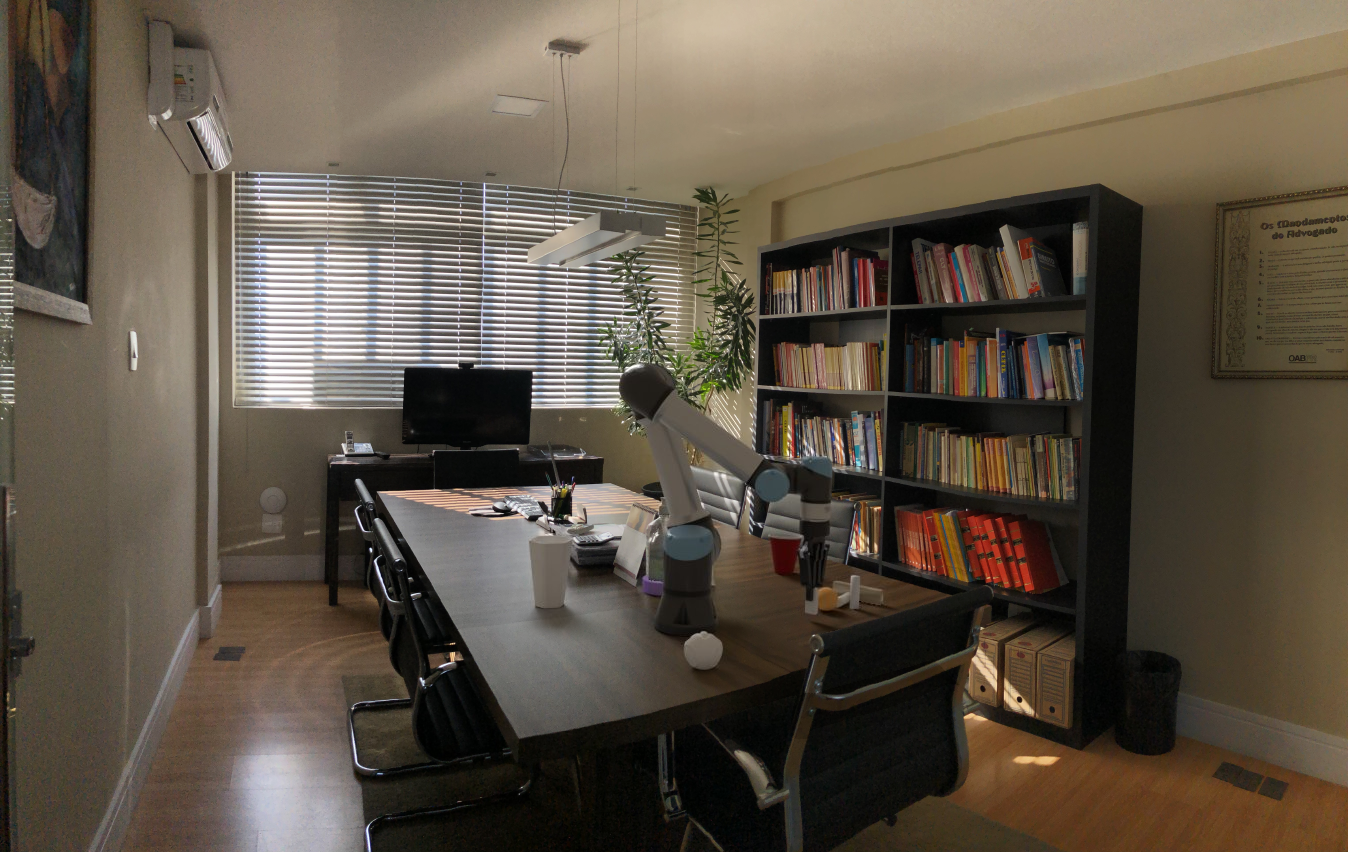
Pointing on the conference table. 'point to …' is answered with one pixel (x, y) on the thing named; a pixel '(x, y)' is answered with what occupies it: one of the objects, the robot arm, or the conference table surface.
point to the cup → (550, 569)
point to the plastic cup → (784, 552)
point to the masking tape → (652, 586)
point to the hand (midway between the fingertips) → (811, 612)
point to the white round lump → (703, 650)
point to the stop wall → (865, 594)
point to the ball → (827, 599)
